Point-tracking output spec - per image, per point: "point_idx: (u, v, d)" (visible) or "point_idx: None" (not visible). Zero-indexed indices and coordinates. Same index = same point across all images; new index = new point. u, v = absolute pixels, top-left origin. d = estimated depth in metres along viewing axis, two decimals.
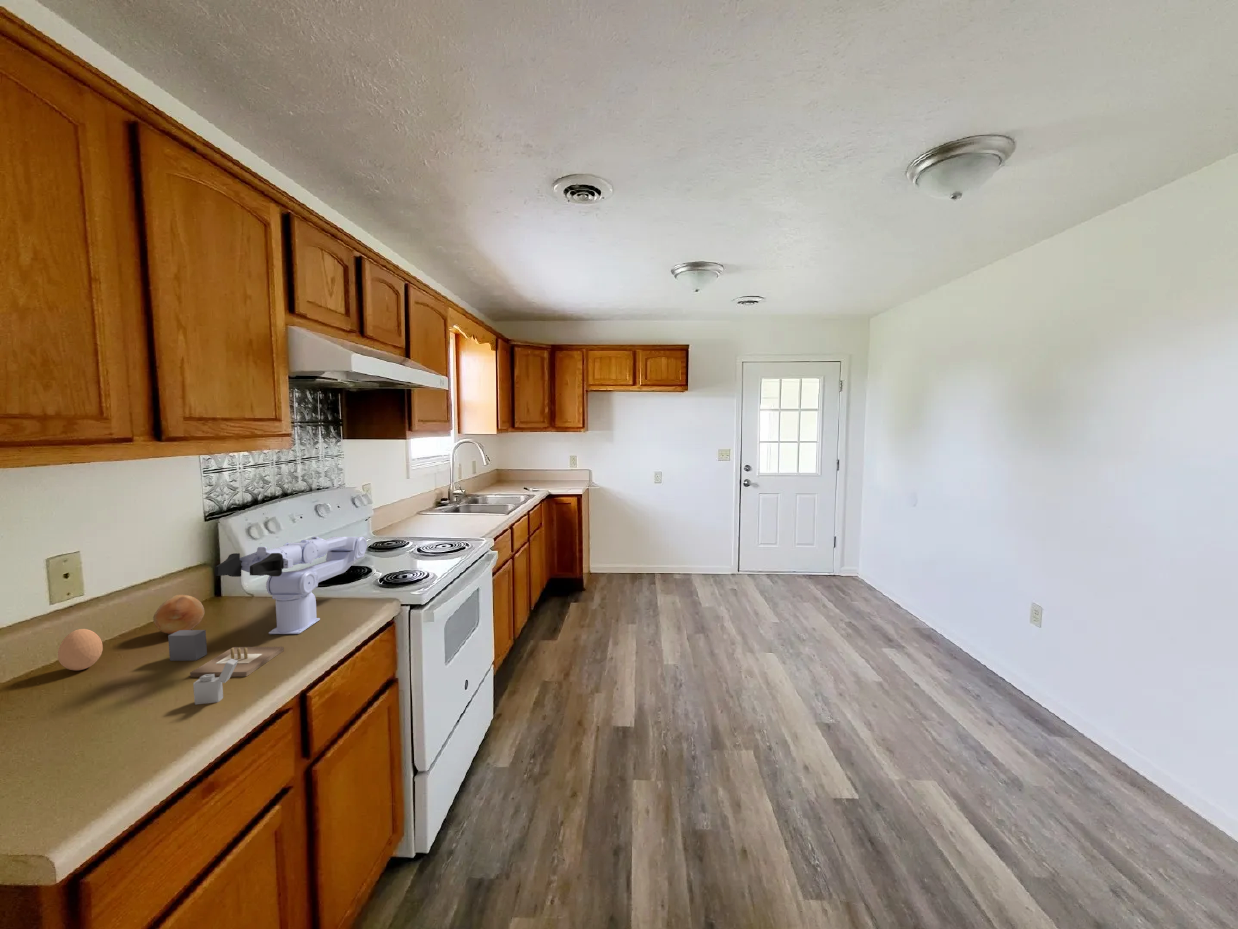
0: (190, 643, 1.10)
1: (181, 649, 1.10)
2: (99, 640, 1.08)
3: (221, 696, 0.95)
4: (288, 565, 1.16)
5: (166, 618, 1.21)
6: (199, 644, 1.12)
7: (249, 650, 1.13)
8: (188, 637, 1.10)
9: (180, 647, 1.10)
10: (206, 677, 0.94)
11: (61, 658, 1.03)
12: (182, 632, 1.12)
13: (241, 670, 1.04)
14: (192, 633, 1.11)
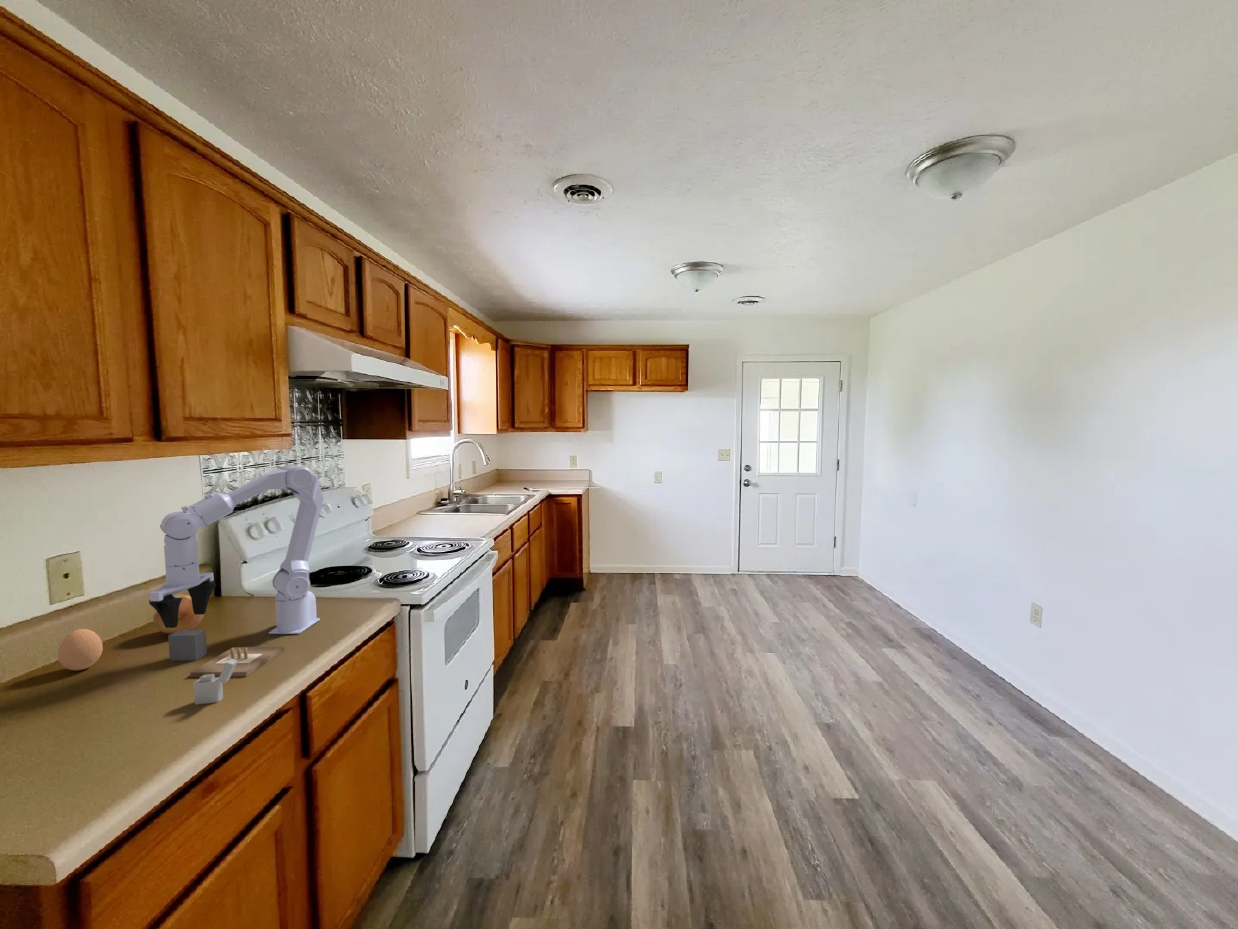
0: (190, 643, 1.10)
1: (181, 649, 1.10)
2: (99, 640, 1.08)
3: (221, 696, 0.95)
4: (156, 600, 1.04)
5: None
6: (199, 644, 1.12)
7: (249, 650, 1.13)
8: (188, 637, 1.10)
9: (180, 647, 1.10)
10: (206, 677, 0.94)
11: (61, 658, 1.03)
12: (182, 632, 1.12)
13: (241, 670, 1.04)
14: (192, 633, 1.11)
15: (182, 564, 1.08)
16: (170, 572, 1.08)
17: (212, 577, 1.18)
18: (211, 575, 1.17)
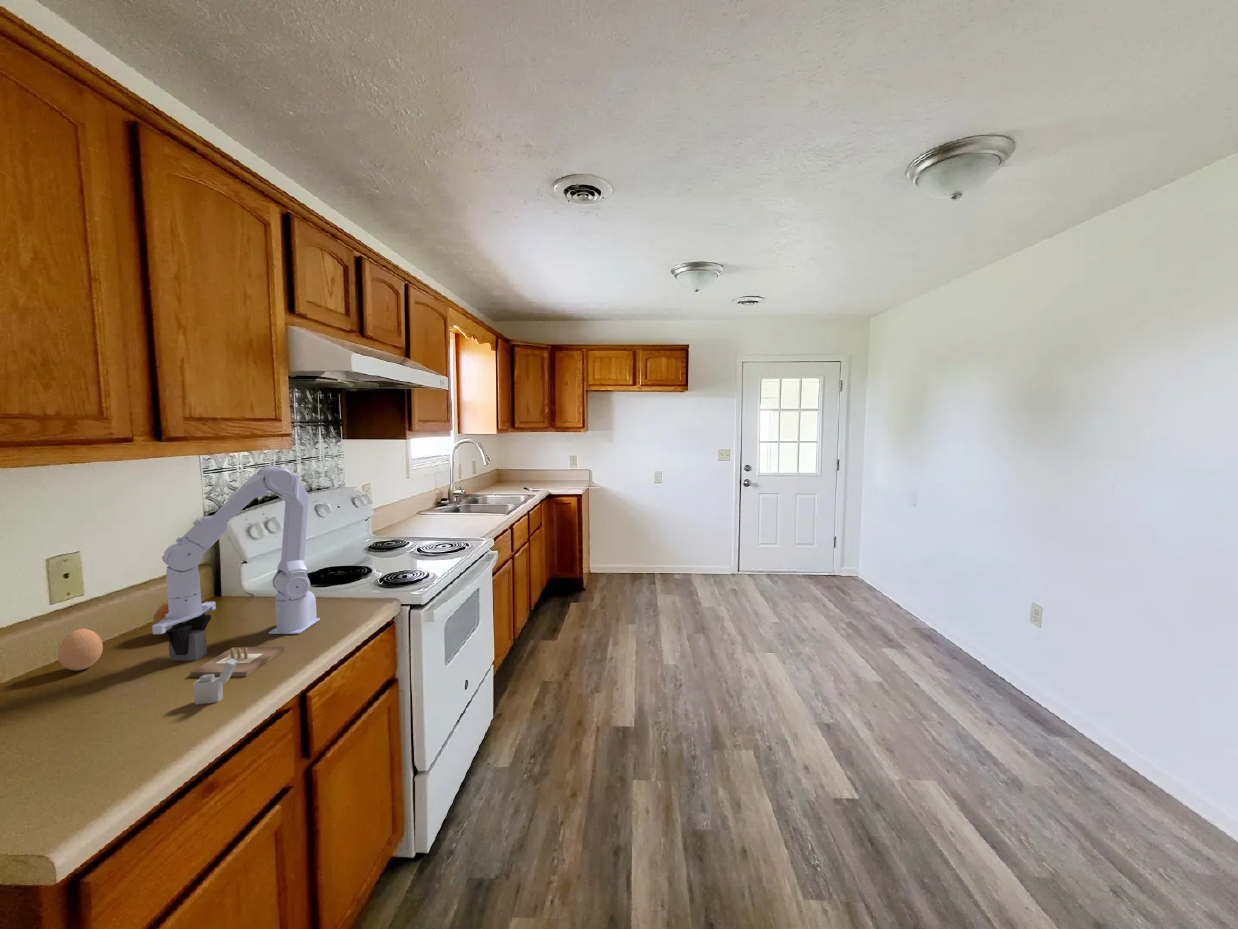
0: (190, 643, 1.10)
1: None
2: (99, 640, 1.08)
3: (221, 696, 0.95)
4: (158, 632, 1.04)
5: None
6: (199, 644, 1.12)
7: (249, 650, 1.13)
8: None
9: None
10: (206, 677, 0.94)
11: (61, 658, 1.03)
12: None
13: (241, 670, 1.04)
14: (192, 633, 1.11)
15: (184, 596, 1.09)
16: (173, 604, 1.08)
17: (214, 606, 1.18)
18: (213, 604, 1.18)
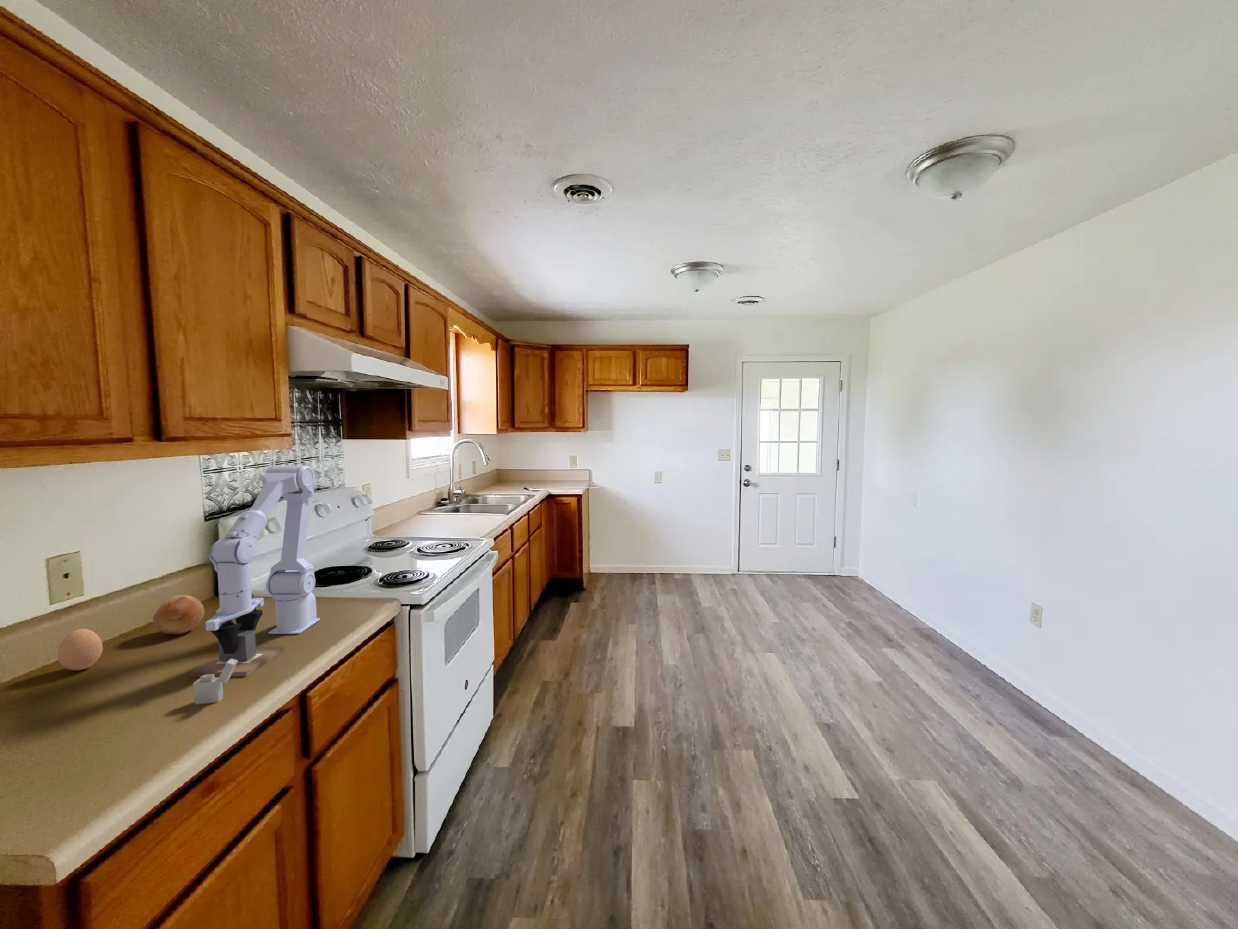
0: (240, 644, 1.08)
1: None
2: (99, 640, 1.08)
3: (221, 696, 0.95)
4: (212, 629, 1.01)
5: (166, 618, 1.21)
6: (249, 645, 1.09)
7: None
8: (238, 638, 1.07)
9: None
10: (206, 677, 0.94)
11: (61, 658, 1.03)
12: None
13: (241, 670, 1.04)
14: (242, 633, 1.09)
15: (246, 589, 1.08)
16: (224, 600, 1.05)
17: (262, 602, 1.15)
18: (261, 600, 1.15)
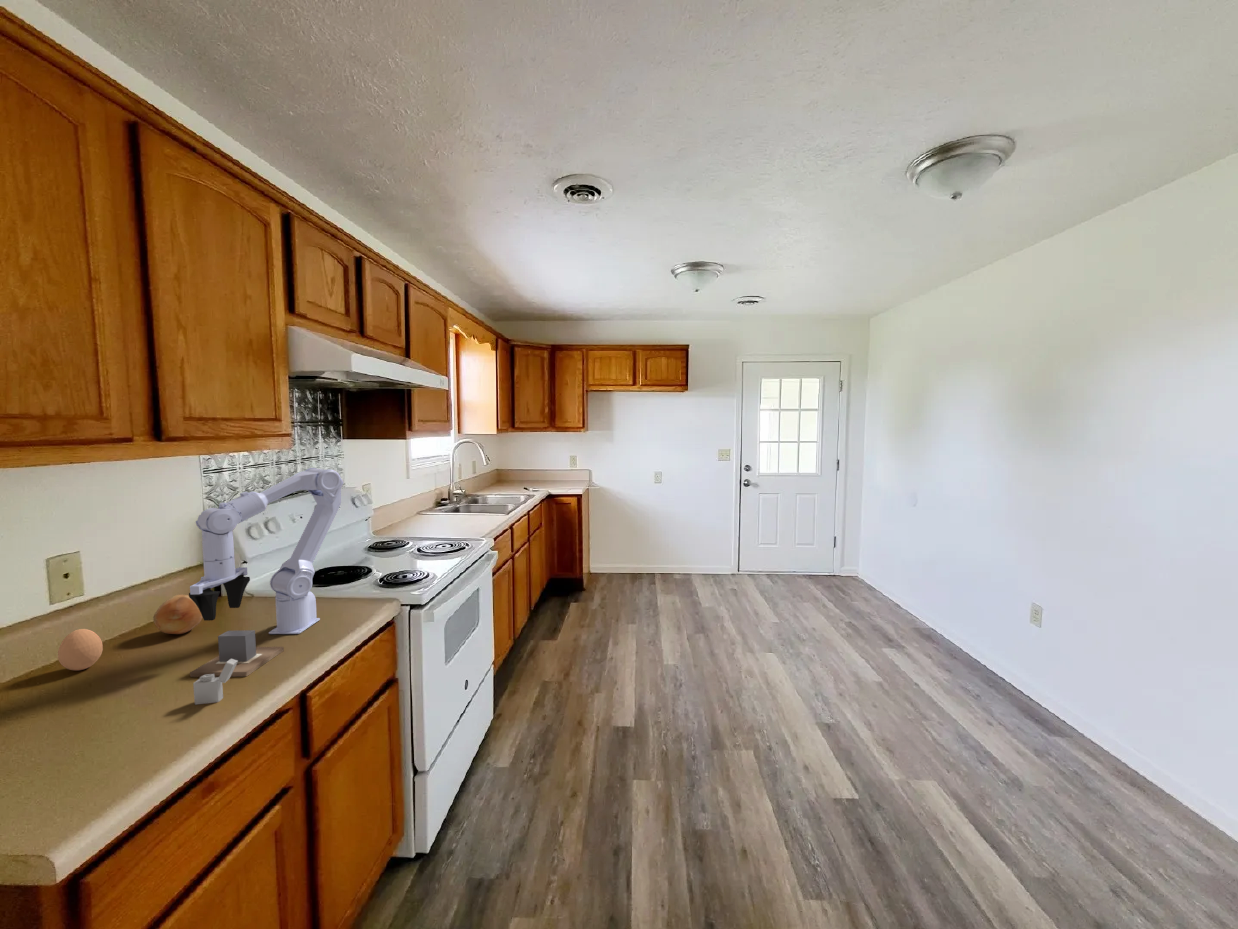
0: (240, 644, 1.08)
1: (231, 650, 1.08)
2: (99, 640, 1.08)
3: (221, 696, 0.95)
4: (196, 593, 1.07)
5: (166, 618, 1.21)
6: (249, 645, 1.09)
7: None
8: (238, 638, 1.07)
9: (230, 648, 1.08)
10: (206, 677, 0.94)
11: (61, 658, 1.03)
12: (232, 633, 1.09)
13: (241, 670, 1.04)
14: (242, 633, 1.09)
15: (222, 558, 1.12)
16: (208, 567, 1.11)
17: (246, 571, 1.21)
18: (245, 570, 1.20)
